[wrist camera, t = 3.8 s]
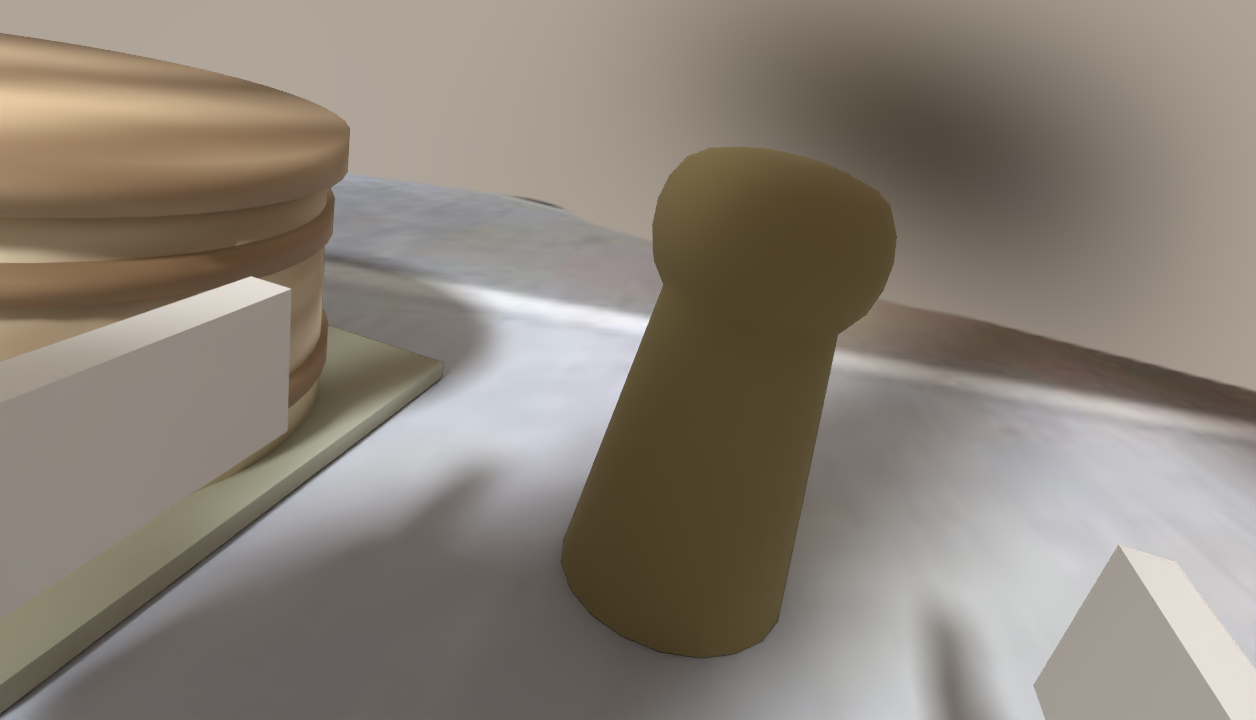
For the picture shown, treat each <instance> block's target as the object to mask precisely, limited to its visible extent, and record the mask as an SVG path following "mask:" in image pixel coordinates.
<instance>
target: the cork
mask: <svg viewBox="0 0 1256 720" xmlns="http://www.w3.org/2000/svg"><path fill="white" fill-rule="evenodd" d="M652 226H653V255H654V262H655V264H656V267H657V269H658V272H659V275H660V277H661V280H662V282H663V287H662V290H661V292H660V295H659V298H658V300H657V303H656V305H655V308H654V310H653V313H652V315H651V318H650V321H649V323H648V326H647V328H646V331H645V333H644V336H643V338H642V341H641V343H640V346H639V349H638V351H637V354H636V356H635V359H634V361H633V364H632V366H631V369H630V372H629V374H628V377H627V379H626V382H625V384H624V387H623V389H622V392H621V394H620V397H619V400H618V402H617V405H616V407H615V410H614V412H613V415H612V417H611V420H610V423H609V425H608V428H607V430H606V433H605V435H604V438H603V440H602V443H601V445H600V448H599V451H598V453H597V456H596V458H595V461H594V463H593V466H592V468H591V471H590V474H589V476H588V479H587V481H586V484H585V486H584V489H583V491H582V494H581V496H580V499H579V502H578V504H577V507H576V509H575V512H574V514H573V517H572V519H571V522H570V525H569V527H568V530H567V532H566V535H565V537H564V541H563V550H562V559H561V563H562V566H563V569H564V572H565V575H566V578H567V581H568V584H569V586H570V589H571V590H572V591H573V592H574V594H575V595H576V596H577V597H578V599H579V600H580V601H581V602H582V604H583V605H584V606H585V607H586V608H587V610H588V611H589V612H590V613H591V614H592V615H593V616H594V617H596V618H597V619H599V620H600V621H601V622H603V623H604V624H606V625H607V626H608V627H610V628H611V629H613V630H614V631H615V632H617V633H618V634H620V635H621V636H623V637H625V638H628V639H630V640H632V641H635V642H637V643H640V644H642V645H645V646H647V647H650V648H652V649H655V650H657V651H660V652H665V653H671V654H678V655H684V656H691V657H697V658H704V657H713V656H721V655H730V654H736V653H738V652H741V651H743V650H745V649H747V648H749V647H751V646H753V645H755V644H757V643H759V642H761V641H763V639H764V638H765V637H766V636H767V634H768V633H769V632H770V631H771V629H772V628H773V627H774V626H775V624H776V623H777V622H778V618H779V614H780V609H781V604H782V599H783V595H784V590H785V585H786V580H787V575H788V571H789V566H790V561H791V556H792V552H793V547H794V542H795V537H796V532H797V528H798V523H799V518H800V513H801V509H802V504H803V499H804V494H805V489H806V485H807V480H808V475H809V470H810V466H811V461H812V456H813V451H814V447H815V442H816V437H817V432H818V427H819V423H820V418H821V413H822V408H823V404H824V399H825V394H826V389H827V384H828V380H829V375H830V370H831V365H832V361H833V356H834V351H835V346H836V341H837V337H838V334H839V333H841V332H842V331H844V330H845V329H847V328H848V327H849V326H851V325H852V324H854V323H855V322H857V321H858V320H860V319H861V318H862V317H864V316H865V315H866V314H867V313H868V312H869V310H870V309H871V307H872V306H873V305H874V303H875V302H876V300H877V299H878V297H879V296H880V295H881V293H882V292H883V290H884V287H885V285H886V282H887V280H888V277H889V275H890V272H891V270H892V267H893V264H894V257H895V247H896V239H897V235H896V231H895V226H894V221H893V216H892V211H891V207H890V204H889V203H888V202H887V201H886V200H885V199H884V197H883V196H882V195H881V194H880V193H879V192H878V191H877V190H875V189H873V188H872V187H870V186H868V185H867V184H865V183H863V182H861V181H860V180H858V179H856V178H854V177H853V176H851V175H849V174H848V173H845V172H843V171H841V170H839V169H837V168H834V167H832V166H830V165H828V164H825V163H822V162H819V161H816V160H813V159H810V158H806V157H803V156H799V155H795V154H791V153H786V152H782V151H777V150H771V149H763V148H748V147H722V148H708V149H705V150H703V151H700V152H698V153H695V154H692V155H690V156H687V157H686V159H685V160H684V161H683V162H682V163H681V164H680V165H679V166H678V167H677V168H676V169H675V170H674V171H673V172H672V173H671V174H670V176H669V178H668V180H667V182H666V184H665V186H664V188H663V190H662V192H661V194H660V196H659V198H658V202H657V206H656V211H655V215H654V220H653V225H652Z"/></svg>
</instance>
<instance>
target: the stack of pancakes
mask: <svg viewBox="0 0 1256 720" xmlns="http://www.w3.org/2000/svg"><path fill="white" fill-rule="evenodd" d="M349 137H350V128H349V126H348V125H347V123H346V122H345V121H344V120H343V119H342V118H340V117H339V116H337V115H336V114H335V113H333V112H331V111H329V110H328V109H326V108H324V107H322V106H320V105H317V104H315V103H313V102H310V101H308V100H306V99H302V98H300V97H297V96H295V95H292V94H289V93H286V92H283V91H280V90H277V89H274V88H271V87H267V86H264V85H261V84H257V83H253V82H250V81H247V80H243V79H239V78H235V77H231V76H227V75H224V74H219V73H215V72H211V71H207V70H203V69H198V68H194V67H189V66H185V65H180V64H176V63H171V62H166V61H161V60H157V59H152V58H147V57H142V56H136V55H131V54H126V53H120V52H115V51H110V50H104V49H98V48H92V47H87V46H81V45H74V44H69V43H63V42H56V41H50V40H44V39H37V38H30V37H24V36H17V35H9V34H2V33H0V362H2V361H5V360H8V359H11V358H14V357H17V356H19V355H22V354H25V353H28V352H31V351H34V350H37V349H40V348H43V347H46V346H49V345H52V344H55V343H57V342H60V341H63V340H66V339H69V338H72V337H75V336H78V335H81V334H84V333H87V332H90V331H93V330H95V329H98V328H101V327H104V326H107V325H110V324H113V323H116V322H119V321H122V320H125V319H128V318H131V317H134V316H136V315H139V314H142V313H145V312H148V311H151V310H154V309H157V308H160V307H163V306H166V305H169V304H172V303H174V302H177V301H180V300H183V299H186V298H189V297H192V296H195V295H198V294H201V293H204V292H207V291H210V290H213V289H215V288H218V287H221V286H224V285H227V284H230V283H233V282H236V281H239V280H242V279H245V278H248V277H251V276H252V277H255V278H258V279H261V280H265V281H268V282H271V283H274V284H278V285H281V286H284V287H287V288H290V289H291V324H290V360H289V395H288V431H287V432H285V433H284V434H282V435H281V436H279V437H278V438H276V439H275V440H273V441H272V442H270V443H268V444H267V445H265V446H264V447H262V448H261V449H259V450H258V451H256V452H255V453H253V454H252V455H250V456H249V457H247V458H246V459H244V460H243V461H241V462H239V463H238V464H236V465H235V466H233V467H232V468H230V469H229V470H227V471H226V472H224V473H223V474H221V475H220V476H218V477H217V478H215V479H214V480H212V481H210V482H209V483H207V484H206V485H204V486H203V487H201V488H200V489H198V490H197V491H195V492H194V493H192V494H191V495H189V496H188V497H186V498H184V499H183V500H181V501H180V502H178V503H177V504H175V505H174V506H172V507H171V508H169V509H168V510H166V511H165V512H163V513H162V514H160V515H159V516H157V517H155V518H154V519H152V520H151V521H149V522H148V523H146V524H145V525H143V526H142V527H140V528H139V529H137V530H136V531H134V532H133V533H131V534H130V535H128V536H126V537H125V538H123V539H122V540H120V541H119V542H117V543H116V544H114V545H113V546H111V547H110V548H108V549H107V550H105V551H104V552H102V553H101V554H99V555H97V556H96V557H94V558H93V559H91V560H90V561H88V562H87V563H85V564H84V565H82V566H81V567H79V568H78V569H76V570H75V571H73V572H72V573H70V574H68V575H67V576H65V577H64V578H62V579H61V580H59V581H58V582H56V583H55V584H53V585H52V586H50V587H49V588H47V589H46V590H44V591H43V592H41V593H39V594H38V595H36V596H35V597H33V598H32V599H30V600H29V601H27V602H26V603H24V604H23V605H21V606H20V607H18V608H17V609H15V610H14V611H12V612H10V613H9V614H7V615H6V616H4V617H3V618H1V619H0V713H2V712H3V711H4V710H6V709H7V708H8V707H10V706H11V705H12V704H14V703H15V702H16V701H17V700H19V699H20V698H21V697H23V696H24V695H25V694H27V693H28V692H29V691H31V690H32V689H33V688H35V687H36V686H37V685H38V684H40V683H41V682H42V681H44V680H45V679H46V678H48V677H49V676H50V675H52V674H53V673H54V672H56V671H57V670H58V669H60V668H61V667H62V666H63V665H65V664H66V663H67V662H69V661H70V660H71V659H73V658H74V657H75V656H77V655H78V654H79V653H81V652H82V651H83V650H84V649H86V648H87V647H88V646H90V645H91V644H92V643H94V642H95V641H96V640H98V639H99V638H100V637H102V636H103V635H104V634H105V633H107V632H108V631H109V630H111V629H112V628H113V627H115V626H116V625H117V624H119V623H120V622H121V621H123V620H124V619H125V618H126V617H128V616H129V615H130V614H132V613H133V612H134V611H136V610H137V609H138V608H140V607H141V606H142V605H144V604H145V603H146V602H148V601H149V600H150V599H151V598H153V597H154V596H155V595H157V594H158V593H159V592H161V591H162V590H163V589H165V588H166V587H167V586H169V585H170V584H171V583H172V582H174V581H175V580H176V579H178V578H179V577H180V576H182V575H183V574H184V573H186V572H187V571H188V570H190V569H191V568H192V567H193V566H195V565H196V564H197V563H199V562H200V561H201V560H203V559H204V558H205V557H207V556H208V555H209V554H211V553H212V552H213V551H215V550H216V549H217V548H218V547H220V546H221V545H222V544H224V543H225V542H226V541H228V540H229V539H230V538H232V537H233V536H234V535H236V534H237V533H238V532H239V531H241V530H242V529H243V528H245V527H246V526H247V525H249V524H250V523H251V522H253V521H254V520H255V519H257V518H258V517H259V516H260V515H262V514H263V513H264V512H266V511H267V510H268V509H270V508H271V507H272V506H274V505H275V504H276V503H278V502H279V501H280V500H281V499H283V498H284V497H285V496H287V495H288V494H289V493H291V492H292V491H293V490H295V489H296V488H297V487H299V486H300V485H301V484H303V483H304V482H305V481H306V480H308V479H309V478H310V477H312V476H313V475H314V474H316V473H317V472H318V471H320V470H321V469H322V468H324V467H325V466H326V465H327V464H329V463H330V462H331V461H333V460H334V459H335V458H337V457H338V456H339V455H341V454H342V453H343V452H345V451H346V450H347V449H348V448H350V447H351V446H352V445H354V444H355V443H356V442H358V441H359V440H360V439H362V438H363V437H364V436H366V435H367V434H368V433H370V432H371V431H372V430H373V429H375V428H376V427H377V426H379V425H380V424H381V423H383V422H384V421H385V420H387V419H388V418H389V417H391V416H392V415H393V414H394V413H396V412H397V411H398V410H400V409H401V408H402V407H404V406H405V405H406V404H408V403H409V402H410V401H412V400H413V399H414V398H415V397H417V396H418V395H419V394H421V393H422V392H423V391H425V390H426V389H427V388H429V387H430V386H431V385H433V384H434V383H435V382H436V381H438V380H439V379H440V378H442V374H443V366H444V362H441V361H438V360H435V359H431V358H428V357H425V356H422V355H419V354H416V353H413V352H409V351H406V350H403V349H400V348H397V347H394V346H391V345H388V344H384V343H381V342H378V341H375V340H372V339H369V338H366V337H363V336H359V335H356V334H353V333H350V332H347V331H344V330H341V329H338V328H334V327H331V326H328V322H327V318H326V315H325V312H324V310H323V308H322V295H323V274H324V252H325V245H326V244H327V243H328V241H329V239H330V238H331V236H332V234H333V219H334V200H335V197H334V195H333V193H332V190H331V187H332V186H334V185H335V184H337V183H338V182H340V181H341V180H342V179H343V178H344V176H345V175H346V174H347V172H348V156H349V155H348V154H349Z"/></svg>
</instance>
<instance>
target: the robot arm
mask: <svg viewBox="0 0 1256 720" xmlns="http://www.w3.org/2000/svg"><path fill="white" fill-rule="evenodd" d="M290 324H291V289H290V288H287V287H284V286H281V285H278V284H274V283H271V282H268V281H265V280H261V279H258V278H255V277H252V276H251V277H248V278H245V279H242V280H239V281H236V282H233V283H230V284H227V285H224V286H221V287H218V288H215V289H213V290H210V291H207V292H204V293H201V294H198V295H195V296H192V297H189V298H186V299H183V300H180V301H177V302H174V303H172V304H169V305H166V306H163V307H160V308H157V309H154V310H151V311H148V312H145V313H142V314H139V315H136V316H134V317H131V318H128V319H125V320H122V321H119V322H116V323H113V324H110V325H107V326H104V327H101V328H98V329H95V330H93V331H90V332H87V333H84V334H81V335H78V336H75V337H72V338H69V339H66V340H63V341H60V342H57V343H55V344H52V345H49V346H46V347H43V348H40V349H37V350H34V351H31V352H28V353H25V354H22V355H19V356H17V357H14V358H11V359H8V360H5V361H2V362H0V619H1V618H3V617H4V616H6V615H7V614H9V613H10V612H12V611H14V610H15V609H17V608H18V607H20V606H21V605H23V604H24V603H26V602H27V601H29V600H30V599H32V598H33V597H35V596H36V595H38V594H39V593H41V592H43V591H44V590H46V589H47V588H49V587H50V586H52V585H53V584H55V583H56V582H58V581H59V580H61V579H62V578H64V577H65V576H67V575H68V574H70V573H72V572H73V571H75V570H76V569H78V568H79V567H81V566H82V565H84V564H85V563H87V562H88V561H90V560H91V559H93V558H94V557H96V556H97V555H99V554H101V553H102V552H104V551H105V550H107V549H108V548H110V547H111V546H113V545H114V544H116V543H117V542H119V541H120V540H122V539H123V538H125V537H126V536H128V535H130V534H131V533H133V532H134V531H136V530H137V529H139V528H140V527H142V526H143V525H145V524H146V523H148V522H149V521H151V520H152V519H154V518H155V517H157V516H159V515H160V514H162V513H163V512H165V511H166V510H168V509H169V508H171V507H172V506H174V505H175V504H177V503H178V502H180V501H181V500H183V499H184V498H186V497H188V496H189V495H191V494H192V493H194V492H195V491H197V490H198V489H200V488H201V487H203V486H204V485H206V484H207V483H209V482H210V481H212V480H214V479H215V478H217V477H218V476H220V475H221V474H223V473H224V472H226V471H227V470H229V469H230V468H232V467H233V466H235V465H236V464H238V463H239V462H241V461H243V460H244V459H246V458H247V457H249V456H250V455H252V454H253V453H255V452H256V451H258V450H259V449H261V448H262V447H264V446H265V445H267V444H268V443H270V442H272V441H273V440H275V439H276V438H278V437H279V436H281V435H282V434H284V433H285V432H287V431H288V395H289V360H290ZM1033 686H1034V688H1035V691H1036V694H1037V697H1038V700H1039V703H1040V705H1041V708H1042V711H1043V714H1044V717H1045V720H1256V670H1255V668H1254V667H1253V666H1252V664H1251V663H1250V661H1249V660H1248V659H1247V657H1246V656H1245V655H1244V653H1243V652H1242V651H1241V649H1240V648H1239V647H1238V645H1237V644H1236V643H1235V641H1234V640H1233V638H1232V637H1231V636H1230V634H1229V633H1228V632H1227V630H1226V629H1225V628H1224V626H1223V625H1222V624H1221V622H1220V621H1219V619H1218V618H1217V617H1216V615H1215V614H1214V613H1213V611H1212V610H1211V609H1210V607H1209V606H1208V605H1207V603H1206V602H1205V600H1204V599H1203V598H1202V596H1201V595H1200V594H1199V592H1198V591H1197V590H1196V588H1195V587H1194V586H1193V584H1192V583H1191V582H1190V580H1189V579H1188V577H1187V576H1186V575H1185V573H1184V572H1183V571H1182V569H1181V568H1180V567H1179V565H1178V564H1177V563H1176V562H1174V561H1171V560H1167V559H1164V558H1161V557H1158V556H1154V555H1151V554H1148V553H1145V552H1141V551H1138V550H1135V549H1132V548H1128V547H1125V546H1122V545H1118V546H1117V548H1116V550H1115V551H1114V553H1113V554H1112V556H1111V558H1110V559H1109V561H1108V563H1107V564H1106V566H1105V568H1104V569H1103V571H1102V573H1101V574H1100V576H1099V578H1098V579H1097V581H1096V583H1095V584H1094V586H1093V588H1092V589H1091V591H1090V593H1089V594H1088V596H1087V598H1086V599H1085V601H1084V602H1083V604H1082V606H1081V607H1080V609H1079V611H1078V612H1077V614H1076V616H1075V617H1074V619H1073V621H1072V622H1071V624H1070V626H1069V627H1068V629H1067V631H1066V632H1065V634H1064V636H1063V637H1062V639H1061V641H1060V642H1059V644H1058V645H1057V647H1056V649H1055V650H1054V652H1053V654H1052V655H1051V657H1050V659H1049V660H1048V662H1047V664H1046V665H1045V667H1044V669H1043V670H1042V672H1041V674H1040V675H1039V677H1038V679H1037V680H1036V682H1035V684H1034V685H1033Z"/></svg>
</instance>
